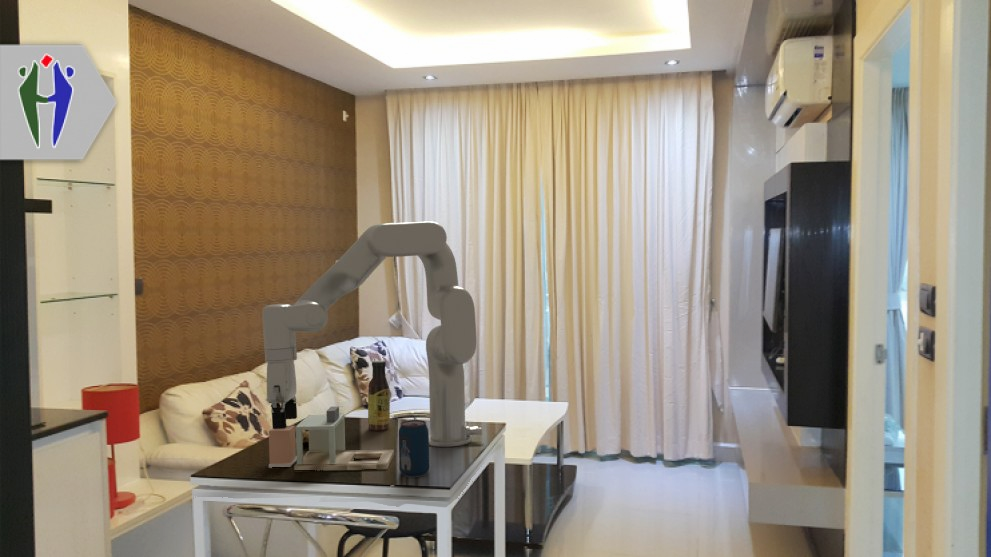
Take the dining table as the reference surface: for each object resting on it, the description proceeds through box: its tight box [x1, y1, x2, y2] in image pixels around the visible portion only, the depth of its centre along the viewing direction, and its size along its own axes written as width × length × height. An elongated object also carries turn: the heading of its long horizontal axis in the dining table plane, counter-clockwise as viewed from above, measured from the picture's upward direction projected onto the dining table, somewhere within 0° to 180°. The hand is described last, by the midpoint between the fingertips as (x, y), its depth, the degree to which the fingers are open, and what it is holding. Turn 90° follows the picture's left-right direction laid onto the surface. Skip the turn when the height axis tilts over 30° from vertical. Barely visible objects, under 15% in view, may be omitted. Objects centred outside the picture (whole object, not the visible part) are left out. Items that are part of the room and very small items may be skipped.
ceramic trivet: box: [268, 455, 297, 469], centre depth 185 cm, size 5×7×1 cm
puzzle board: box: [293, 449, 395, 472], centre depth 185 cm, size 22×13×1 cm, turn 90°
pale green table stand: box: [295, 406, 346, 464], centre depth 185 cm, size 9×13×12 cm
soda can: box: [398, 419, 430, 478], centre depth 174 cm, size 7×7×12 cm
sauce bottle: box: [367, 360, 391, 432], centre depth 219 cm, size 7×6×20 cm
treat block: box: [268, 425, 297, 464], centre depth 185 cm, size 5×5×8 cm
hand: (285, 423), depth 185 cm, fingers open, 9 cm apart
